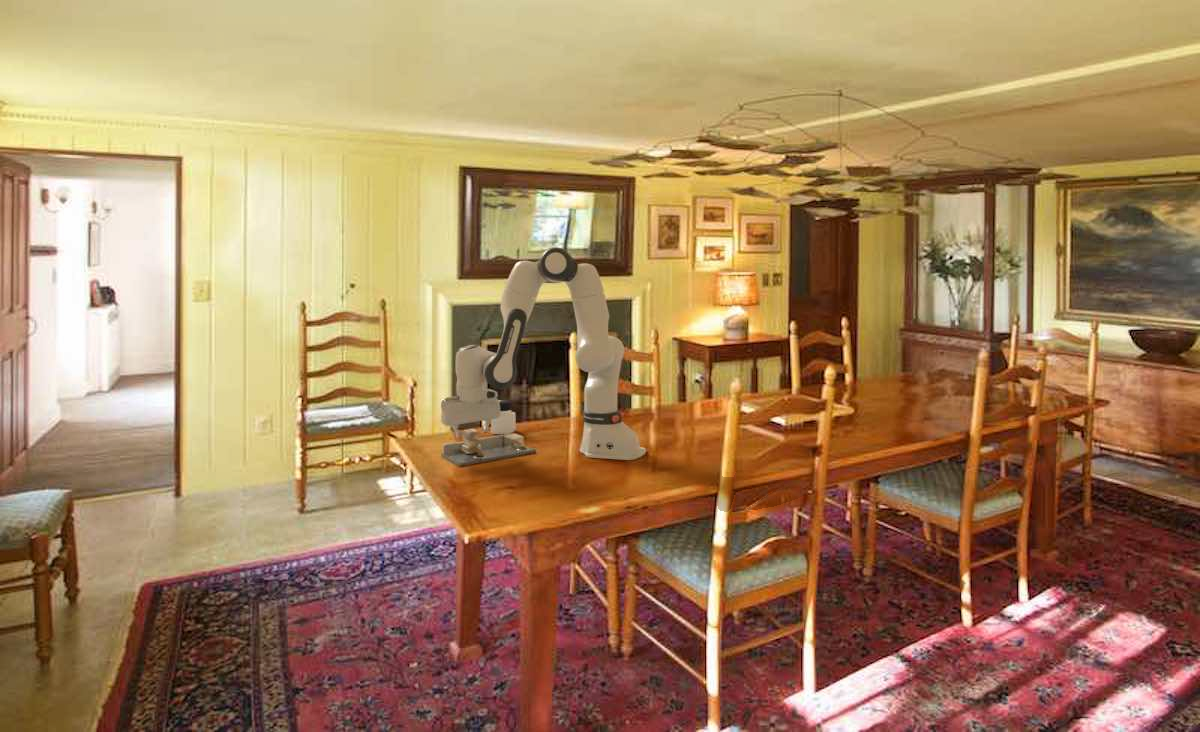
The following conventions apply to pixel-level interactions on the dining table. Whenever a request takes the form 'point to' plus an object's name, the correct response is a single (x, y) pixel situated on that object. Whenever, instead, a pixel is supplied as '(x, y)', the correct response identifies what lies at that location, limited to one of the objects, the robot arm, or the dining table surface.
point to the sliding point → (471, 442)
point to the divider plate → (487, 449)
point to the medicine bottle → (504, 419)
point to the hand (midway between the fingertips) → (472, 435)
